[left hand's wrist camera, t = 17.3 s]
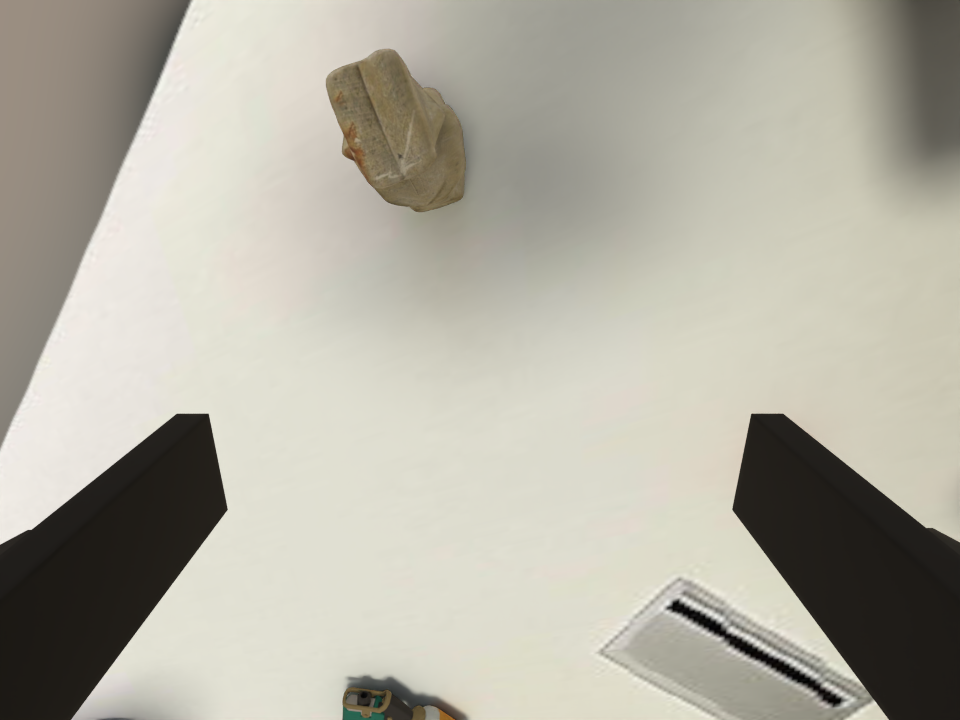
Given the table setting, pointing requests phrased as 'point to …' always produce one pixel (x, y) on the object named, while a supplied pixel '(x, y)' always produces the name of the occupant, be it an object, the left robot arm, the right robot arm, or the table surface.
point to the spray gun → (385, 707)
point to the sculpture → (398, 132)
